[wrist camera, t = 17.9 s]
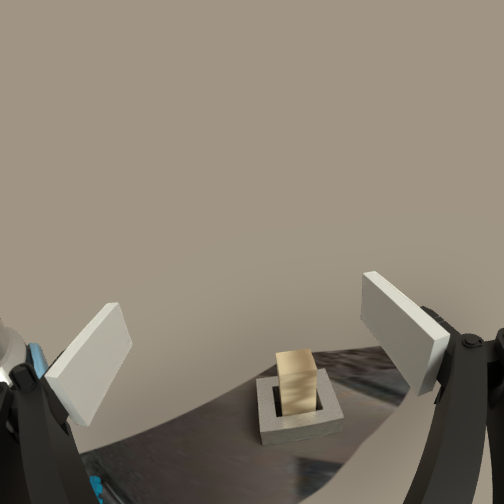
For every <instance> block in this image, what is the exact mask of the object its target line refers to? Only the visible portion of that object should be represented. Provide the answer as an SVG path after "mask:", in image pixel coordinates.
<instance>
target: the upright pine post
mask: <svg viewBox="0 0 504 504" xmlns="http://www.w3.org/2000/svg"><path fill="white" fill-rule="evenodd" d="M276 361H277V372H278V382H279V393H280V404H281V412H282V417H283V416H290V415H296V414H302V413H308V412H313V411H316V387H317V368H316V365H315V362H314V359H313V356H312V354H311V351H310V348H307V349H301V350H294V351H287V352H280V353H276Z"/></svg>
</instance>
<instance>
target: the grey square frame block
mask: <svg viewBox="0 0 504 504" xmlns="http://www.w3.org/2000/svg"><path fill="white" fill-rule="evenodd" d="M256 383H257V397H258V410H259V423H260V434H261V439H262V444H263V446H267V445H276V444H283V443H290V442H296V441H302V440H308V439H313V438H318V437H323V436H328V435H332V434H337V433H341V432H342V427H343V421H344V416H343V413H342V411H341V408H340V406H339V403H338V401H337V398H336V395H335V393H334V390H333V388H332V385H331V383H330V380H329V378H328V375H327V373H326V370H325V368H324V369H319V370H317V387H316V405H317V409H318V411H313V412H308V413H302V414H296V415H290V416H283V417H276V411H275V404H274V402H278V401H280V393H279V382H278V376H276V377H268V378H260V379H256Z"/></svg>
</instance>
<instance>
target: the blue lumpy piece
mask: <svg viewBox="0 0 504 504" xmlns="http://www.w3.org/2000/svg"><path fill="white" fill-rule="evenodd" d="M100 482H101V480H100V477H97V476H94V477H93V476H90V483H91V485H92V487H93V489H94V492H95V494H96V496H97V498H98V500H99V502H100V504H103V499H100V498H99V493H100V494H102V490H103V486H102V485H100Z"/></svg>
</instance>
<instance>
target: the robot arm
mask: <svg viewBox="0 0 504 504" xmlns="http://www.w3.org/2000/svg"><path fill="white" fill-rule="evenodd" d="M362 279H363V281H362V304H361V305H362V306H361V320H362V321H363V322H364V324H365V325H366V326H367V328H368V329H369V330H370V332H371V333H372V334H373V336H374V337H375V338H376V340H377V341H378V342H379V344H380V345H381V346H382V348H383V349H384V350H385V352H386V353H387V355H388V356H389V357H390V359H391V360H392V361H393V363H394V364H395V366H396V367H397V368H398V370H399V371H400V373H401V374H402V375H403V377H404V378H405V380H406V381H407V382H408V384H409V385H410V387H411V388H412V389H413V391H414V392H415V394H416V395H417V396H421V395H423V394H425V393H428V392H430V391H432V390H433V388H434V385H435V382H436V380H438V382H439V383H440V384H441V387H440V390H439V392H438V394H437V397H436V399H435V402H434V404H436V407H435V412H434V416H433V420H432V424H431V428H430V431H429V435H428V438H427V442H426V445H425V448H424V451H423V454H422V457H421V460H420V463H419V466H418V468H417V471H416V474H415V477H414V479H413V481H412V484H411V486H410V489H409V491H408V493H407V496H406V498H405V500H404V502H403V504H472V501H473V497H474V494H475V490H476V486H477V481H478V477H479V472H480V467H481V461H482V455H483V448H484V440H485V431H486V426H487V432H488V438H489V446H490V454H491V466H492V482H493V483H492V484H493V504H504V328H502V329H500V330H499V331H498V333H497V336H496V339H495V340H492V341H485V342H484V340H483V339H482V338H481V337H479V336H477V335H474V334H462V335H461V334H460V333H459V332H458V331H456V330H455V329H454V328H453V327H452V326H450V325H449V324H448V323H447V322H446V321H444V320H443V319H442V318H441V317H439V315H438V314H436V313H435V312H434V311H433V310H431V309H428V308H426V307H424V306H422V307H418V306H417V305H416V304H415V303H414V302H413V301H411V300H410V299H409V298H408V297H406V296H405V295H404V294H403V293H402V292H400V291H399V290H398V289H397V288H396V287H394V286H393V285H392V284H391V283H389V282H388V281H387V280H386V279H384V278H383V277H382V276H381V275H379V274H378V273H377V272H376V271H373V272H367V273H363V277H362ZM132 345H133V343H132V340H131V338H130V335H129V332H128V329H127V326H126V324H125V321H124V318H123V315H122V312H121V309H120V305H119V303H107V304H106V305H105V307H103V308H102V309H101V311H100V312H99V313H98V314H97V315H96V316H95V317H94V318H93V319H92V320H91V322H90V323H89V324H88V325H87V326H86V327H85V328H84V329H83V330H82V332H81V333H80V334H79V335H78V336H77V337H76V338H75V340H74V341H73V342H72V343H71V344H70V345H69V347H68V348H67V349H65V350H64V351H62V352H61V354H60V355H59V356H58V357H57V359H55V361H54V362H53V364H52V365H50V367H48V364H47V361H46V359H45V356H44V354H43V351H42V349H41V347H40V346H39V345H38V344H37V343H29V344H28V346H26V344H25V342H24V340H23V338H22V337H21V335H20V334H19V333H18V332H17V331H15V330H14V329H12V328H9V327H4V325H3V323H2V321H1V319H0V504H100V502H99V500H98V498H97V496H96V494H95V492H94V489H93V487H92V485H91V483H90V481H89V478H88V476H87V473H86V471H85V469H84V466H83V463H82V461H81V458H80V455H79V453H78V450H77V447H76V444H75V441H74V438H73V435H72V432H71V428H70V425H69V424H68V422H67V421H66V420H67V417H68V415H69V416H70V417H71V419H72V420H73V421H74V423H75V424H77V425H82V426H87V427H89V425H90V423H91V421H92V419H93V417H94V415H95V414H96V411H97V409H98V408H99V406H100V404H101V402H102V400H103V398H104V396H105V394H106V392H107V390H108V388H109V386H110V385H111V383H112V381H113V379H114V377H115V375H116V374H117V372H118V370H119V368H120V366H121V365H122V363H123V361H124V359H125V357H126V356H127V354H128V352H129V350H130V349H131V347H132Z"/></svg>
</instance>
